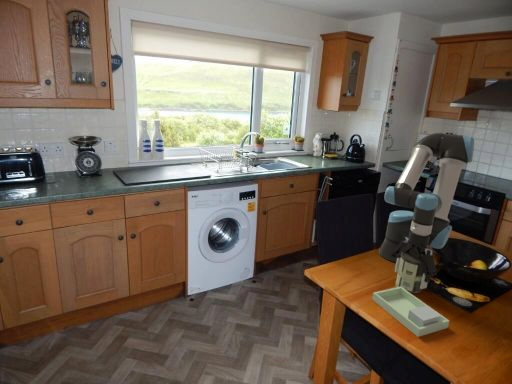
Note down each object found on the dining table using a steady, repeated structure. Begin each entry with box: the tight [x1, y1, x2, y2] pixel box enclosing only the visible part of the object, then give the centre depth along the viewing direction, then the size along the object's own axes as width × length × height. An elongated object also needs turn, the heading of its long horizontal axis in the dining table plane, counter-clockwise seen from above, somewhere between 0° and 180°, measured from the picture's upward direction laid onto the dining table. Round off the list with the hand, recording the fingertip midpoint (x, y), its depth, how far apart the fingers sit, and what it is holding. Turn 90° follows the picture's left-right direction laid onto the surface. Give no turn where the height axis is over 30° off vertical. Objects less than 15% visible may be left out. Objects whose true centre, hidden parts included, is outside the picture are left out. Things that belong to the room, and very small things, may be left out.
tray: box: [371, 286, 450, 338], centre depth 124 cm, size 14×22×4 cm, turn 23°
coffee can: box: [395, 251, 425, 294], centre depth 140 cm, size 10×10×14 cm
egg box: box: [408, 306, 440, 328], centre depth 118 cm, size 8×6×4 cm
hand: (409, 279), depth 141 cm, fingers open, 13 cm apart
